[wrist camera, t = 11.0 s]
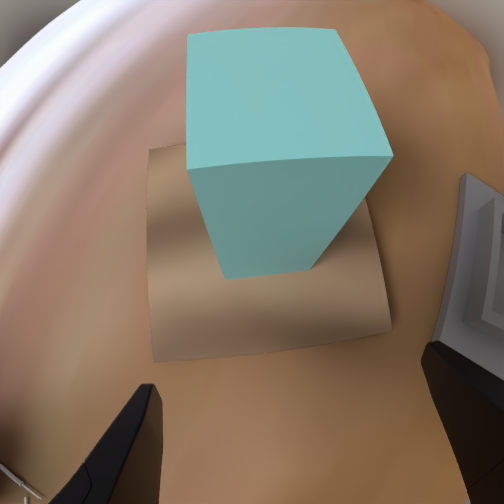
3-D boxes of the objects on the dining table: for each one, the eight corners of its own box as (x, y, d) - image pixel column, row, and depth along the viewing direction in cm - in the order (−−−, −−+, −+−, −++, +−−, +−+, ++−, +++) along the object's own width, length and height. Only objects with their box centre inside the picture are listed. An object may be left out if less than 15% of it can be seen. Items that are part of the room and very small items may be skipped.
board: (383, 332, 17) (392, 331, 16) (159, 361, 17) (153, 362, 15) (341, 142, 21) (345, 132, 20) (153, 159, 20) (149, 149, 19)
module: (309, 270, 17) (393, 156, 6) (224, 279, 17) (186, 169, 6) (294, 187, 18) (335, 29, 8) (217, 194, 18) (187, 34, 8)
